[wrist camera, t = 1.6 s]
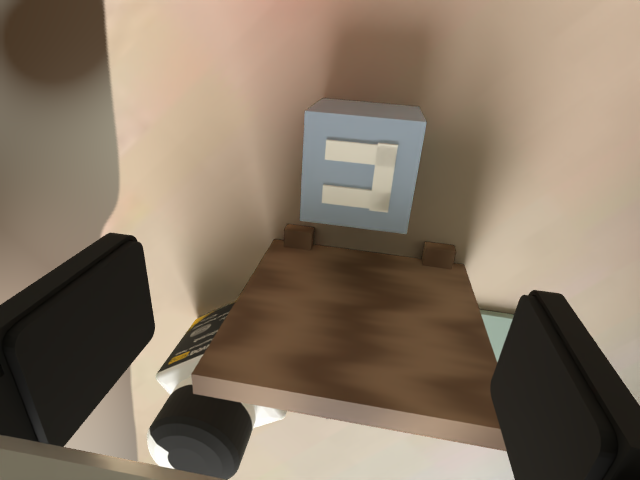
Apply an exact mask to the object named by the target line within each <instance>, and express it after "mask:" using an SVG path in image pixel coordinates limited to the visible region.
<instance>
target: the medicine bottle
mask: <svg viewBox="0 0 640 480" xmlns="http://www.w3.org/2000/svg"><path fill="white" fill-rule="evenodd" d="M235 302H236V301H234V302H232V303H230V304H228V305H226V306H223V307H221V308H219V309H217V310H215V311H212V312H210V313H208V314H206V315H204V316H201V317H199V318H197V319H196V320H195V321H194V323H193V324H192V326H191V327H190V328H189V330H188V331H187V332H186V334H185V335H184V337H183V338H182V339H181V341H180V342H179V344H178V345H177V346H176V348H175V349H174V350H173V352H172V353H171V355H170V356H169V357H168V359H167V360H166V362H165V363H164V364H163V366H162V367H161V368H160V370H159V371H158V373H157V374H156V379H157V381H158V382H159V383H160V384H161V385H162V386H163V387H164V389H165V390H166V391H167V392H168V393H169V394H170V397H169V398H168V400H167V401H166V403H165V404H164V406H163V408H162V409H161V411H160V412H159V414H158V415H157V417H156V418H155V420H154V422H153V423H152V425H151V426H150V428H149V430H148V433H147V443H148V449H149V452H150V454H151V456H152V458H153V459H154V460H155V462H156V463H157V464H158V465H159V466H162V467H167V468H172V469H177V470H182V471H187V472H192V473H197V474H201V475H206V476H211V477H216V478H221V479H226V480H227V479H229V478H231V477H232V476H233V475H234V474H235V473H236V472H237V470H238V468H239V465H240V463H241V460H242V457H243V454H244V452H245V449H246V446H247V443H248V441H249V438H250V435H251V432H252V430H253V428H255V427H258V426H261V425H265V424H268V423H271V422H275V421H278V420H281V419H283V418H284V417H285V415H286V412H287V411H285V410H279V409H274V408H269V407H263V406H258V405H252V404H247V403H241V402H236V401H230V400H225V399H220V398H214V397H209V396H203V395H198V394H193V386H192V377H191V374H192V372H193V370H194V369H195V367H196V365H197V364H198V362H199V361H200V359H201V357H202V356H203V354H204V352H205V351H206V349H207V348H208V346H209V344H210V343H211V341H212V339H213V338H214V336H215V335H216V333H217V331H218V330H219V328H220V326H221V325H222V323H223V322H224V320H225V318H226V317H227V315H228V313H229V312H230V310H231V309H232V307H233V305H234V304H235Z"/></svg>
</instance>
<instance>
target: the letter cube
mask: <svg viewBox="0 0 640 480" xmlns="http://www.w3.org/2000/svg"><path fill="white" fill-rule="evenodd" d="M426 124H427V122H426V120H425V118H424V116H423V114H422V112H421V110H420V108H419V106H407V105H396V104H385V103H374V102H362V101H351V100H340V99H329V98H322V99H321V100H319V101H318V102H317V103H315V104H314V105H312V106H311V107H310V108H308V109H307V110H305V119H304V140H303V162H302V183H301V204H300V221H306V222H314V223H322V224H330V225H338V226H346V227H354V228H362V229H369V230H377V231H385V232H393V233H401V234H407V229H408V224H409V218H410V213H411V207H412V201H413V196H414V190H415V185H416V179H417V174H418V168H419V162H420V157H421V151H422V146H423V140H424V135H425V129H426Z"/></svg>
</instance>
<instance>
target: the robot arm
mask: <svg viewBox="0 0 640 480" xmlns="http://www.w3.org/2000/svg"><path fill="white" fill-rule="evenodd" d="M154 331H155V323H154V316H153V310H152V303H151V297H150V290H149V284H148V277H147V271H146V264H145V257H144V251H143V246H142V244H141V243H140V242H137V239H136V238H135V237H134V236H132V235H124V234H117V233H109V234H106V235H105V236H103V237H102V238H100V239H99V240H97V241H96V242H94V243H93V244H92V245H90V246H88V247H87V248H85V249H84V250H82V251H81V252H79V253H78V254H76V255H75V256H73V257H72V258H70V259H69V260H67V261H66V262H64V263H63V264H61V265H60V266H58V267H57V268H55V269H54V270H52V271H51V272H49V273H48V274H46V275H45V276H43V277H42V278H40V279H39V280H37V281H36V282H34V283H33V284H31V285H30V286H28V287H27V288H25V289H24V290H22V291H21V292H19V293H18V294H16V295H15V296H13V297H12V298H10V299H9V300H7V301H6V302H4V303H3V304H1V305H0V480H226V479H221V478H216V477H211V476H206V475H201V474H197V473H192V472H187V471H182V470H177V469H172V468H167V467H162V466H157V465H152V464H147V463H142V462H137V461H132V460H126V459H121V458H116V457H112V456H106V455H101V454H96V453H91V452H86V451H81V450H76V449H71V448H66V447H64V445H65V444H66V443H67V442H68V441H69V440H70V438H71V437H72V436H73V435H74V433H75V432H76V431H77V430H78V429H79V427H80V426H81V425H82V424H83V422H84V421H85V420H86V419H87V417H88V416H89V415H90V414H91V412H92V411H93V410H94V409H95V408H96V406H97V405H98V404H99V403H100V401H101V400H102V399H103V398H104V396H105V395H106V394H107V393H108V392H109V390H110V389H111V388H112V387H113V386H114V384H115V383H116V382H117V380H118V379H119V378H120V377H121V376H122V374H123V373H124V372H125V371H126V370H127V368H128V367H129V366H130V365H131V363H132V362H133V361H134V360H135V359H136V357H137V356H138V355H139V354H140V352H141V351H142V350H143V349H144V347H145V346H146V345H147V344H148V343H149V341H150V340H151V339H152V337H153V334H154ZM490 393H491V398H492V402H493V405H494V408H495V412H496V415H497V419H498V422H499V426H500V429H501V433H502V436H503V440H504V443H505V447H506V450H507V454H508V457H509V460H510V464H511V467H512V471H513V474H514V478H515V480H640V406H639V404H638V403H637V401H636V400H635V398H634V397H633V396H632V394H631V393H630V391H629V390H628V388H627V387H626V385H625V384H624V383H623V381H622V380H621V378H620V377H619V375H618V374H617V373H616V371H615V370H614V368H613V367H612V365H611V364H610V362H609V361H608V360H607V358H606V357H605V355H604V354H603V352H602V351H601V349H600V348H599V347H598V345H597V344H596V342H595V341H594V339H593V338H592V337H591V335H590V334H589V332H588V331H587V329H586V328H585V326H584V325H583V324H582V322H581V321H580V319H579V318H578V316H577V315H576V313H575V312H574V311H573V309H572V308H571V306H570V305H569V303H568V302H567V300H566V299H565V298H564V296H563V295H562V294H559V293H552V292H545V291H537V290H533V291H531V292H530V293H529V295H523V296H522V297H521V298H520V300H519V303H518V305H517V308H516V311H515V314H514V317H513V320H512V322H511V325H510V328H509V331H508V334H507V337H506V339H505V342H504V345H503V348H502V351H501V354H500V357H499V359H498V362H497V365H496V368H495V371H494V374H493V376H492V379H491V384H490Z"/></svg>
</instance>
